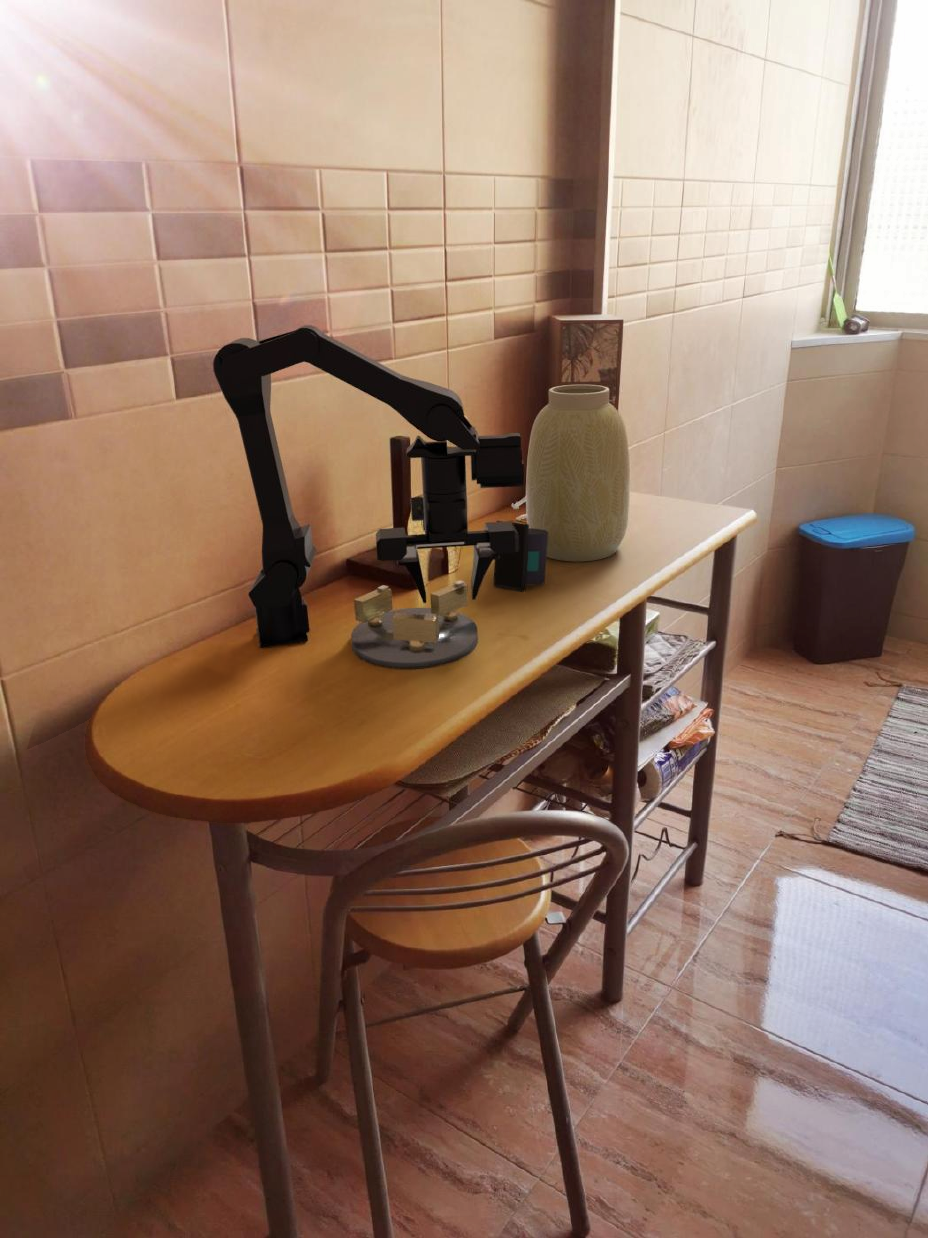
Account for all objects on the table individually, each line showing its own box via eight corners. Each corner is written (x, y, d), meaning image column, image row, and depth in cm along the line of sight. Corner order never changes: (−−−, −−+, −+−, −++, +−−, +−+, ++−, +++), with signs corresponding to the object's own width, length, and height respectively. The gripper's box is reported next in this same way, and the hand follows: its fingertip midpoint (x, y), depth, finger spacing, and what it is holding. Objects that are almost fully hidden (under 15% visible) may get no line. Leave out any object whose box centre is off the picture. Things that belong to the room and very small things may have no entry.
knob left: (366, 633, 125) (363, 599, 123) (355, 630, 126) (352, 596, 124) (394, 619, 129) (392, 586, 127) (384, 616, 130) (381, 584, 128)
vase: (556, 572, 148) (557, 402, 138) (509, 543, 163) (506, 387, 153) (647, 555, 155) (655, 391, 144) (594, 528, 169) (597, 377, 159)
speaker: (518, 594, 139) (519, 526, 136) (492, 587, 144) (493, 520, 141) (553, 586, 144) (556, 520, 141) (528, 579, 148) (530, 515, 145)
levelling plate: (364, 677, 116) (362, 661, 115) (342, 627, 131) (341, 612, 130) (494, 657, 120) (493, 642, 119) (458, 610, 135) (457, 596, 134)
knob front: (394, 650, 119) (391, 615, 117) (399, 644, 121) (396, 609, 119) (435, 654, 118) (434, 618, 116) (440, 647, 120) (438, 612, 118)
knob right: (441, 627, 126) (439, 593, 124) (430, 623, 127) (429, 590, 125) (469, 615, 129) (468, 582, 127) (459, 611, 131) (457, 579, 129)
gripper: (506, 470, 129) (508, 576, 135) (372, 478, 128) (379, 584, 134) (519, 490, 119) (520, 604, 125) (373, 499, 117) (381, 613, 123)
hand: (449, 600), depth 127 cm, fingers open, 6 cm apart
